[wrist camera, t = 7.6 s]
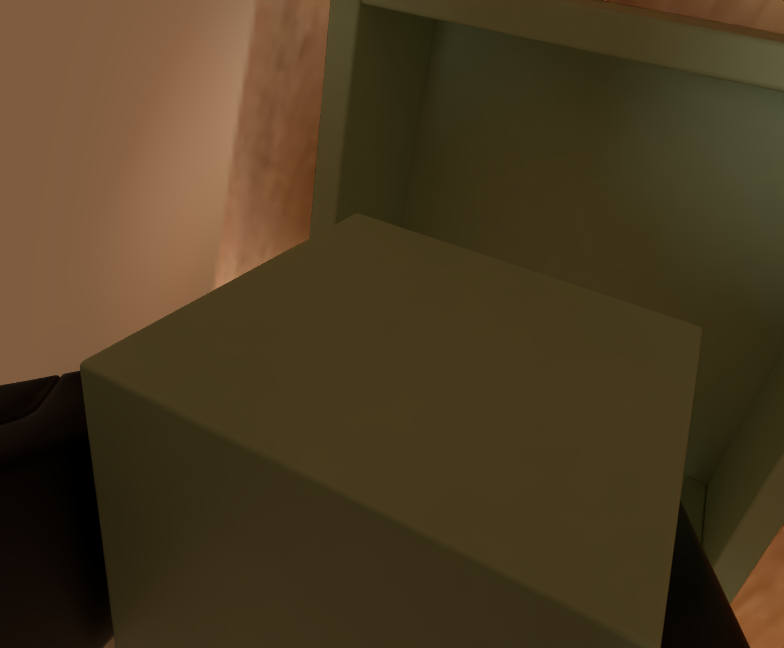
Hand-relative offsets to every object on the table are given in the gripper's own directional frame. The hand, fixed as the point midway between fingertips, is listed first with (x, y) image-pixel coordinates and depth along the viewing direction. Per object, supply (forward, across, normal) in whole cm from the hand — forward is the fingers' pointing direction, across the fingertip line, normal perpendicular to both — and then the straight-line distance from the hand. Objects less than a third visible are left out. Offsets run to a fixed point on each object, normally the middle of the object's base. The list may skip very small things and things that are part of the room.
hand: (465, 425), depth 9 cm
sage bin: (+8, 0, 0) cm, 8 cm away
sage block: (0, 0, 0) cm, 0 cm away
